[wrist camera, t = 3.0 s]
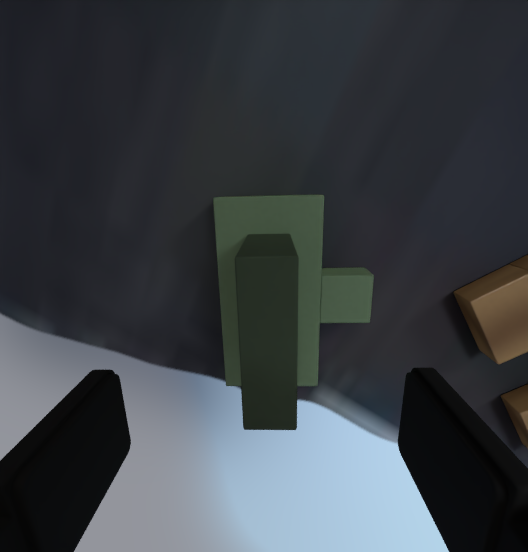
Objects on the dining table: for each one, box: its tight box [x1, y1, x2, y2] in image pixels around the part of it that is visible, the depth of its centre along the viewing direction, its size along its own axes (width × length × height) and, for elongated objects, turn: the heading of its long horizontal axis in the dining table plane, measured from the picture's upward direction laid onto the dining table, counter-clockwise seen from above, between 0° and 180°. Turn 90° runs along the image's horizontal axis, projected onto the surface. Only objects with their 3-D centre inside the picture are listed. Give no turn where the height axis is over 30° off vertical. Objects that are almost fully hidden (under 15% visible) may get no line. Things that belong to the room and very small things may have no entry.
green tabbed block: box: [213, 195, 374, 430], centre depth 16 cm, size 12×9×8 cm
